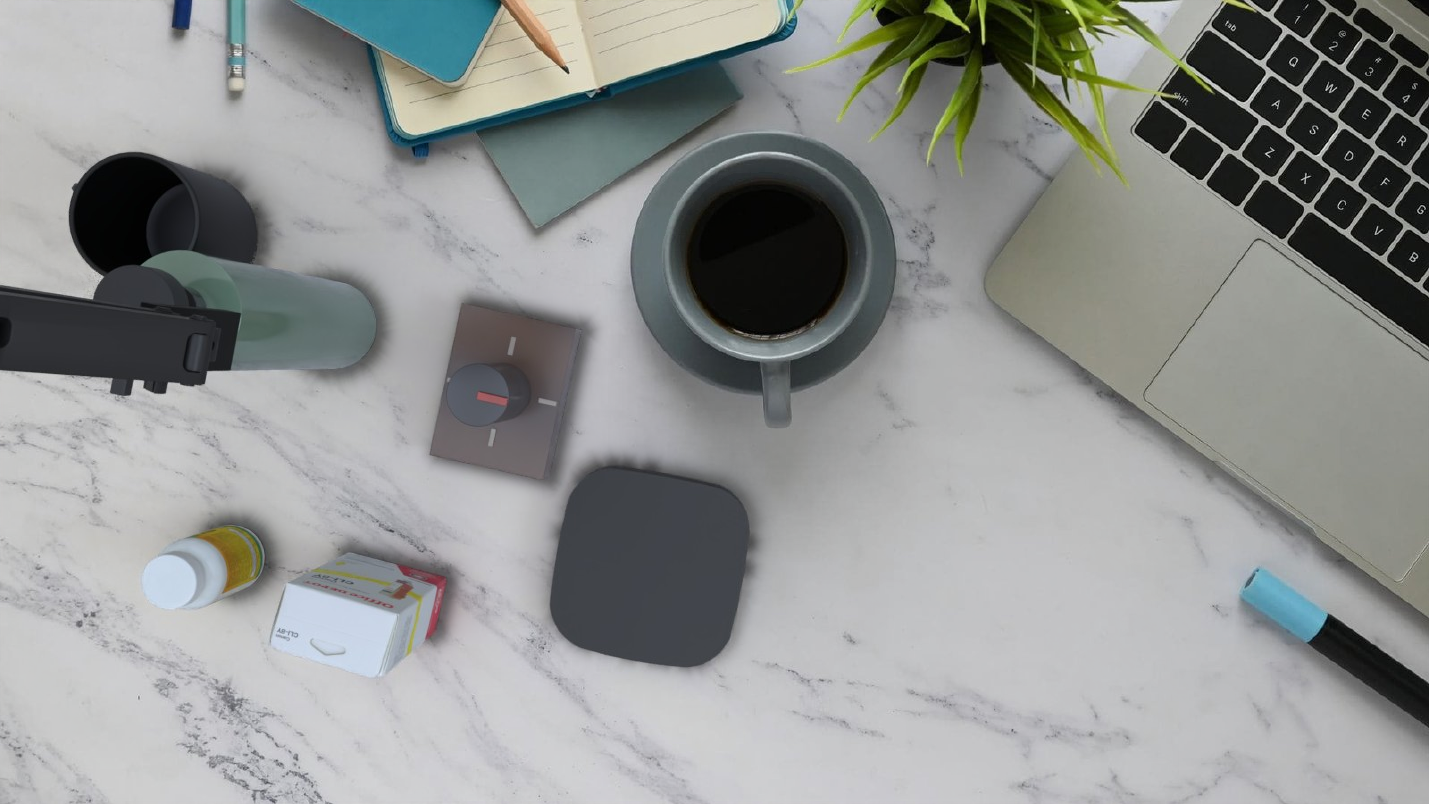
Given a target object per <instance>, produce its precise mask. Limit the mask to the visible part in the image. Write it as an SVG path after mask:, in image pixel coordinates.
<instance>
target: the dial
mask: <svg viewBox="0 0 1429 804" xmlns="http://www.w3.org/2000/svg"><path fill="white" fill-rule="evenodd" d="M446 399H447V404H448V406H449V409H450V411H451V412H452V414H453V415H454V416H455V417H456V418H457V419H458V420H459V421H461V422H462V423H464V424H466V425H469V426H474V427H482V426H487V425H491V424H494V423H498V422H502V421H506V420H509V419H512V418H515V417H517V416H518V415H520V414H521V413H522V412H523V411H524V410H525V408H526V407H527V405H528V403H529V399H530V385H529V382H528V379H527V378H526V376H525V375H524V373H523V372H522V371H521V370H520V369H518V368H517V367H515V366H513V365H510V364H505V363H476V364H469V365H466V366H464V367H462V368H460V369H459V370H458V371H457V372H455V373H454V375H453V376H452V377H451V379H450V381H449V383H448V386H447V391H446Z"/></svg>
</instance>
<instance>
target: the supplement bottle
mask: <svg viewBox="0 0 1429 804" xmlns="http://www.w3.org/2000/svg"><path fill="white" fill-rule="evenodd" d="M265 555H266V554H265V549H264V546H263V544H262V542H261V540H260V538H259V537H258V536H257V535H256V534H255V533H254V532H253V531H252V530H251V529H248V528H246V527H244V526H241V525H235V524H227V525H221V526H218V527H214V528H212V529H209V530H205V531H201V532H199V533H196V534H192V535H190V536H186V537H183V538H179V539H177V540H175V541H173V542H171V543H169V544H167V546H165V547H164V548H163V549H161V551H160V552H159V554H158V555H157V556H155V557H154V558H152V559H151V560H150V561H148V563H147V564H146V565H145V567H144V568H143V571H142V574H141V577H140V585H141V590H142V592H143V595H144V597H145V598H146V599H147V600H148V601H149V603H150V604H152V605H153V606H155V607H157V608H159V609H161V610H167V611H169V610H170V611H172V610H177V609H179V610H185V611H193V610H195V611H196V610H199V609H203V608H206V607H208V606H210V605H212V604H214V603H216V602H219V601H221V600H223V599H226V598H228V597H229V596H232V595H234V594H236V593H238V592H240V591H242V590H245V589H247V588H248V587H250V586H252V585H253V584H254V583H255V582H256V581H257V580H258V579H259V577H260V576H261V574H262V573H263V570H264V565H265V561H266V560H265V559H266V558H265V557H266V556H265Z"/></svg>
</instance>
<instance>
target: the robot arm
mask: <svg viewBox="0 0 1429 804" xmlns="http://www.w3.org/2000/svg"><path fill="white" fill-rule="evenodd" d="M240 317H241V313H238V312H233V311H229V310H222V309H211V308H201V307H190V306H180V305H169V304H159V303H148V302H141V305H140V307H138V306H132V305H126V304H119V303H113V302H107V301H100V300H94V299H93V298H87V297H81V296H75V295H68V294H61V293H56V292H49V291H42V290H36V289H31V288H30V289H29V288H23V287H17V286H10V285H5V284H0V371H3V372H4V371H5V372H16V373H17V372H18V373H34V374H46V375H47V374H48V375H58V376H59V375H61V376H73V377H74V376H75V377H87V378H88V377H89V378H100V379H101V378H102V379H113V378H114V379H128V380H134V381H142V382H143V385H142V389H144V390H146V391H148V392H150V393H153V394H154V395H166V394H167V390H168V385H169V383H171V384H179V385H180V386H185V387H192V388H194V387H195V386H201V387H202V386H203V385H206V381H207V375H208V372H232V371H231V366H232V361H233V355H234V350H235V344H236V339H237V334H238V328H239V323H240Z"/></svg>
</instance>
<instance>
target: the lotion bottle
mask: <svg viewBox="0 0 1429 804" xmlns="http://www.w3.org/2000/svg"><path fill="white" fill-rule="evenodd" d="M141 266H145V267H151V268H157V269H160V270H163V271H165V272H168V273H169V274H171V275H172V276H173V277H175V278H176V279H177V280H178V281H179V282H180V284H181V285H182V286H183V288H184V290H185V292H186V294H187V297H188V301H189V306H190V307H201V308H211V309H222V310H229V311H233V312H238V313H241V317H240V323H239V328H238V334H237V339H236V344H235V350H234V355H233V361H232V366H231V371H230V372H241V371H242V372H245V371H246V372H247V371H249V372H250V371H252V372H253V371H296V370H297V371H298V370H299V371H301V370H339V369H344V368H348V367H351V366H352V365H355V364H356V363H358V362H359V361H361V360H362V359H363V358H364V357H365V356H366V355H367V354H368V353H369V351H370V349H371V348H372V346H373V344H374V341H375V338H376V335H377V317H376V313H375V310H374V308H373V306H372V304H371V302H370V300H369V299H368V297H366V295H365V294H364V293H363V292H362V291H360V290H359V289H358V288H356V287H355V286H353V285H351V284H348V283H345V282H342V281H337V280H332V279H327V278H324V277H319V276H313V275H309V274H304V273H298V272H293V271H290V270H284V269H279V268H275V267H270V266H265V265H260V264H255V263H252V262H251V263H246V262H241V261H237V260H232V259H227V258H222V257H217V256H212V255H208V254H203V253H198V252H193V251H187V250H175V251H168V252H164V253H161V254H158V255H156V256H154V257H152V258H150V259H148V260H147V261H146V262H144V263H143V264H142V265H141Z"/></svg>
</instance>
